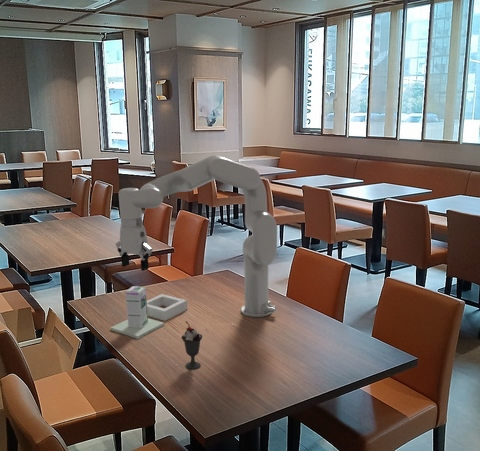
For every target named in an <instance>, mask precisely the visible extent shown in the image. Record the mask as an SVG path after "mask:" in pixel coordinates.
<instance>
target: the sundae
mask: <svg viewBox="0 0 480 451" xmlns="http://www.w3.org/2000/svg"><path fill="white" fill-rule="evenodd" d="M185 323H186V324H187V328H186V330H185V332H184V333H183V335H182V336H181V340H182V341H183V343H184V348H185V352H186V354H187V355H188V356H189V357H190V361H189V362H187V363H186V364H185V368H186V369H187V370H197V369H200V367H201V363H200V362H198V361H196V360H195V358H196V356H198V354H199V352H200V345H201V340H202V338H203V335H202V334H200V333H199V332H197V330H196V329H195V328H192V327H190V323H189V322H188V321H185Z"/></svg>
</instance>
